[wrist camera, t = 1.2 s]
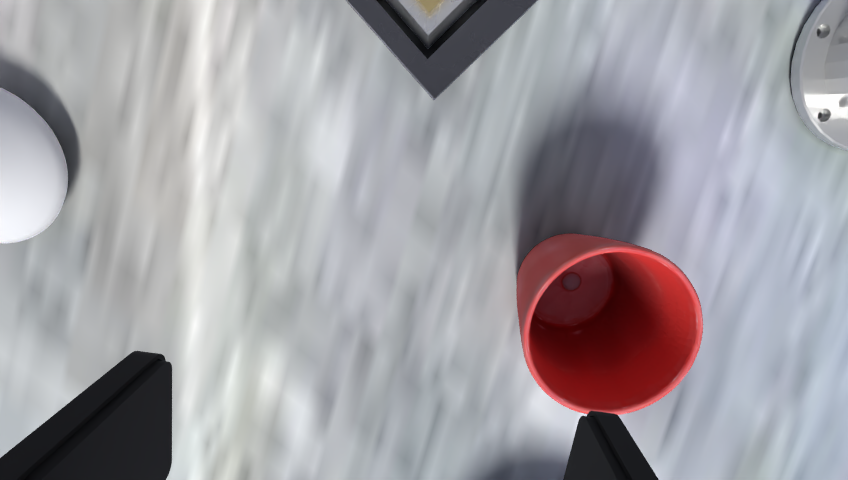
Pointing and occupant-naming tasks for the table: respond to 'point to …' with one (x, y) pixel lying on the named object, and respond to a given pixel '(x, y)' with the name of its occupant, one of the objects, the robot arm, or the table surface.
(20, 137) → the flower in vase
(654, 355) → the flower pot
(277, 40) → the table surface
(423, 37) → the tan topped grey block
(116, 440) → the robot arm
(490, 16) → the dark grey slotted board
